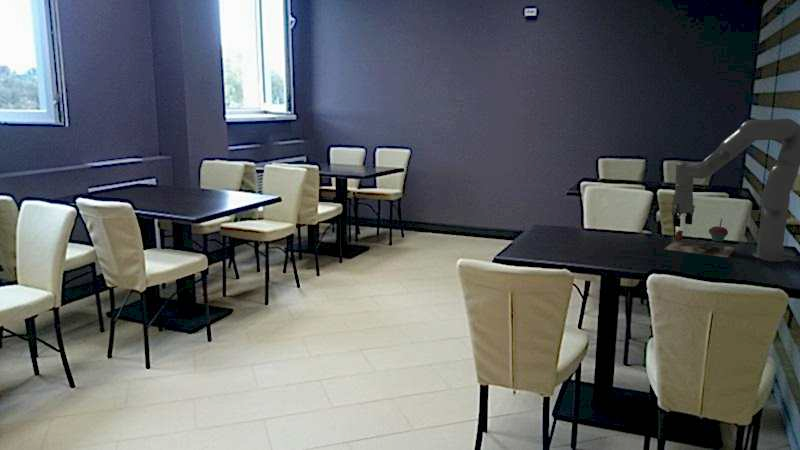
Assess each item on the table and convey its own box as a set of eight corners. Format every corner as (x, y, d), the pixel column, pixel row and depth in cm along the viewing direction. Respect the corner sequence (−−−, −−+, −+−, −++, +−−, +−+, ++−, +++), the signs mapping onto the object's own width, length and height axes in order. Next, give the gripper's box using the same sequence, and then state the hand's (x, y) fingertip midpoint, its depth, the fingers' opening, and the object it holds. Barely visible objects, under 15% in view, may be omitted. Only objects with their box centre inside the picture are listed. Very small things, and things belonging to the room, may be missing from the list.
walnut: (710, 251, 270) (711, 243, 269) (709, 253, 266) (710, 244, 266) (701, 250, 272) (702, 242, 271) (699, 252, 269) (700, 243, 268)
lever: (724, 251, 271) (726, 238, 270) (719, 252, 268) (720, 239, 267) (678, 242, 289) (679, 229, 288) (672, 243, 286) (673, 230, 285)
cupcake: (730, 242, 295) (733, 218, 293) (712, 242, 295) (715, 218, 293) (721, 239, 304) (724, 215, 301) (704, 238, 304) (707, 215, 301)
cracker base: (735, 250, 279) (736, 242, 279) (727, 260, 260) (728, 252, 259) (674, 242, 294) (675, 235, 293) (663, 251, 275) (664, 244, 274)
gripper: (686, 186, 288) (685, 222, 290) (665, 189, 278) (664, 226, 281) (702, 187, 281) (700, 224, 284) (681, 190, 272) (679, 228, 275)
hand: (682, 225), depth 282 cm, fingers open, 9 cm apart
